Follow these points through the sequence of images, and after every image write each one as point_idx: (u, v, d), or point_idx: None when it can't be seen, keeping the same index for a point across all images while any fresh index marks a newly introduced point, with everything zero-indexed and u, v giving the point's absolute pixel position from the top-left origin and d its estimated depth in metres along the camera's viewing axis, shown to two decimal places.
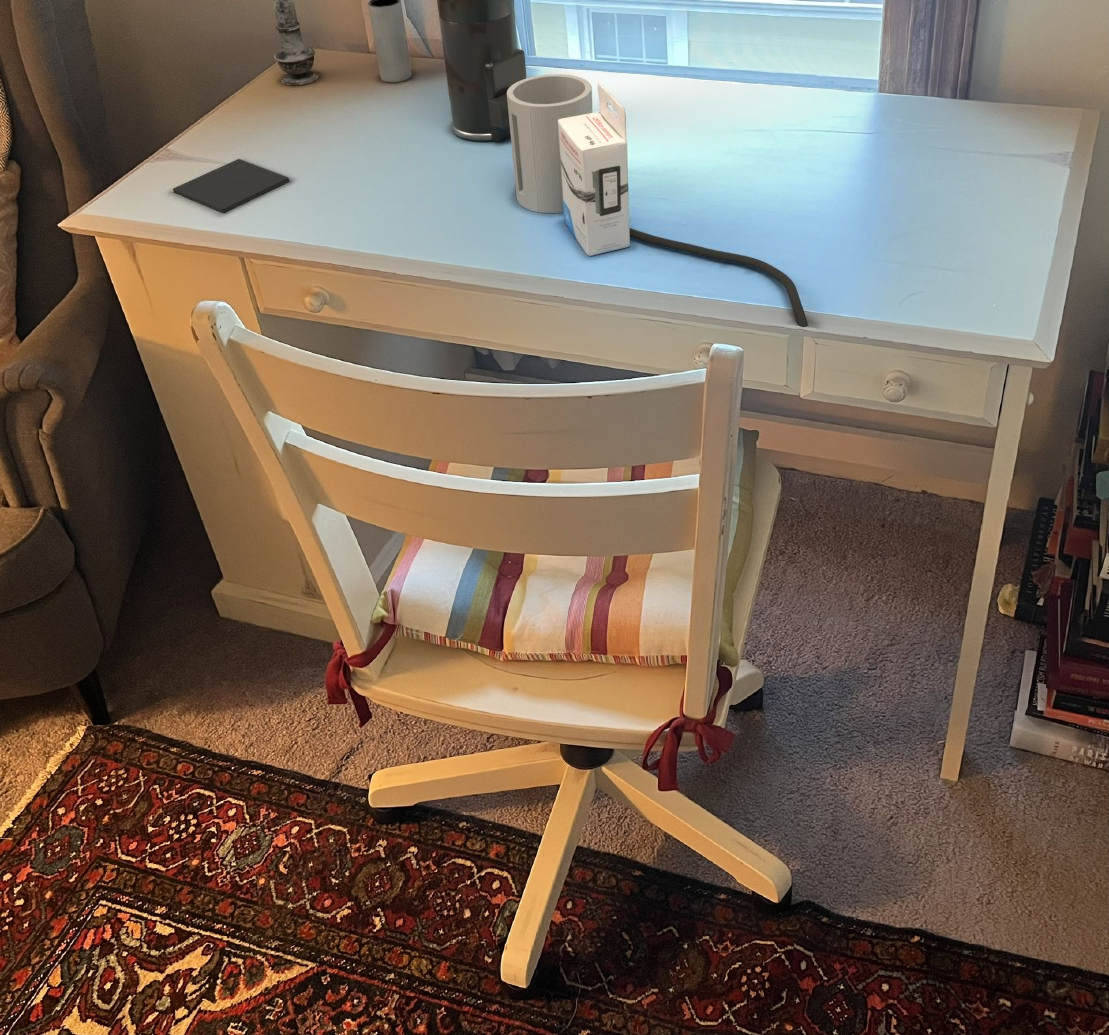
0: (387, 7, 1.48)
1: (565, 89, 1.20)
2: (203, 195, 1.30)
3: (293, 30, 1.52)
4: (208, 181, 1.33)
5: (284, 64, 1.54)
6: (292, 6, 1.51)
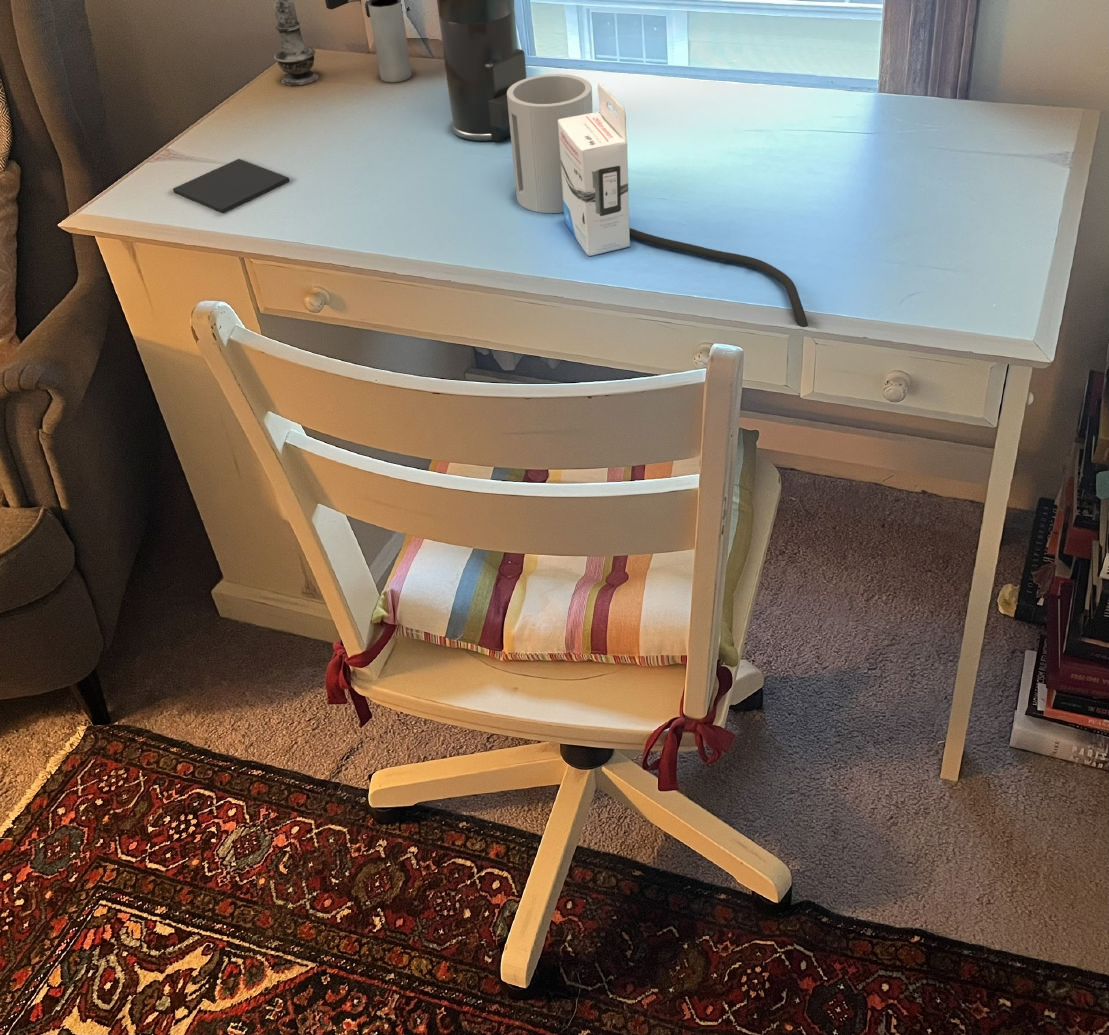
0: (387, 7, 1.48)
1: (565, 89, 1.20)
2: (203, 195, 1.30)
3: (293, 30, 1.52)
4: (208, 181, 1.33)
5: (284, 64, 1.54)
6: (292, 6, 1.51)
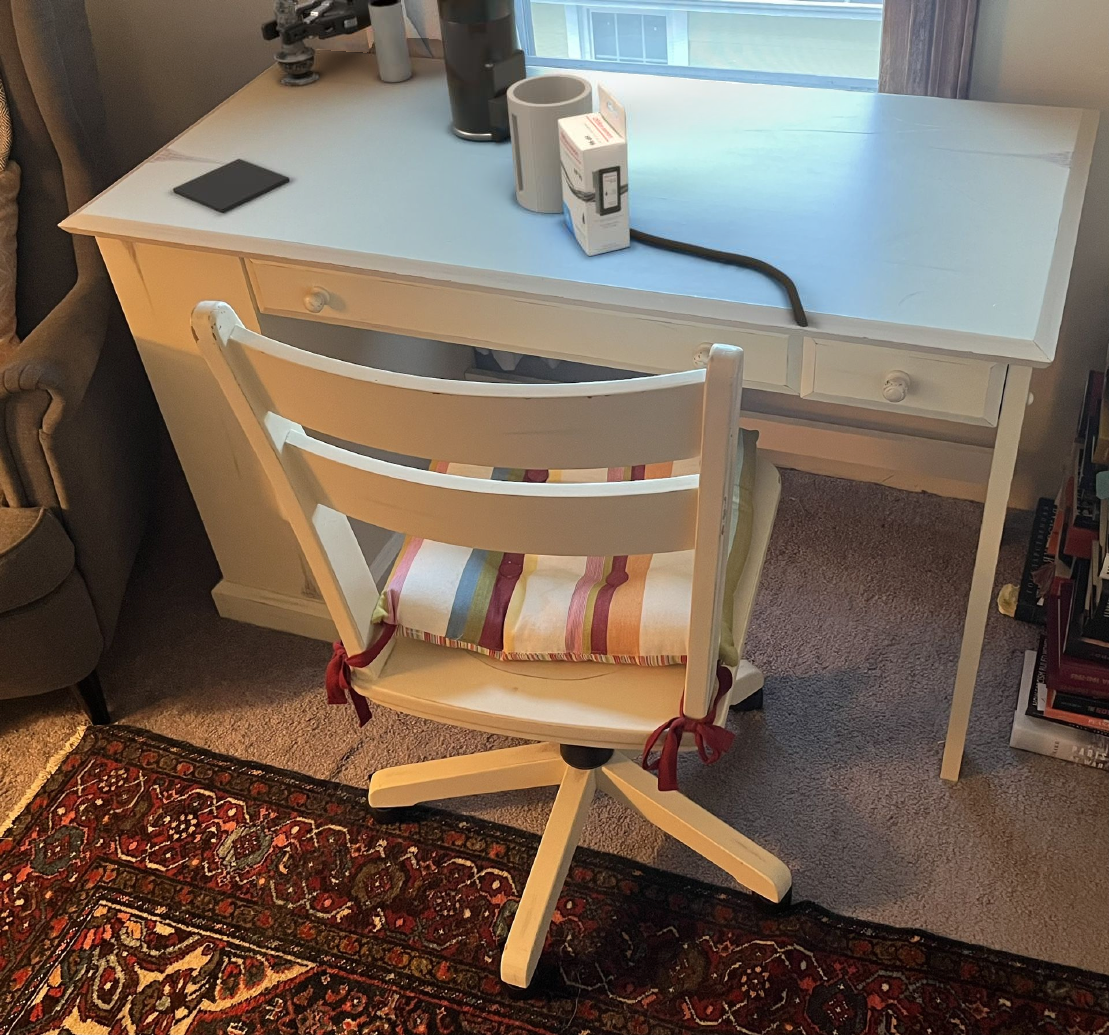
0: (387, 7, 1.48)
1: (565, 89, 1.20)
2: (203, 195, 1.30)
3: None
4: (208, 181, 1.33)
5: (285, 64, 1.54)
6: (292, 6, 1.51)
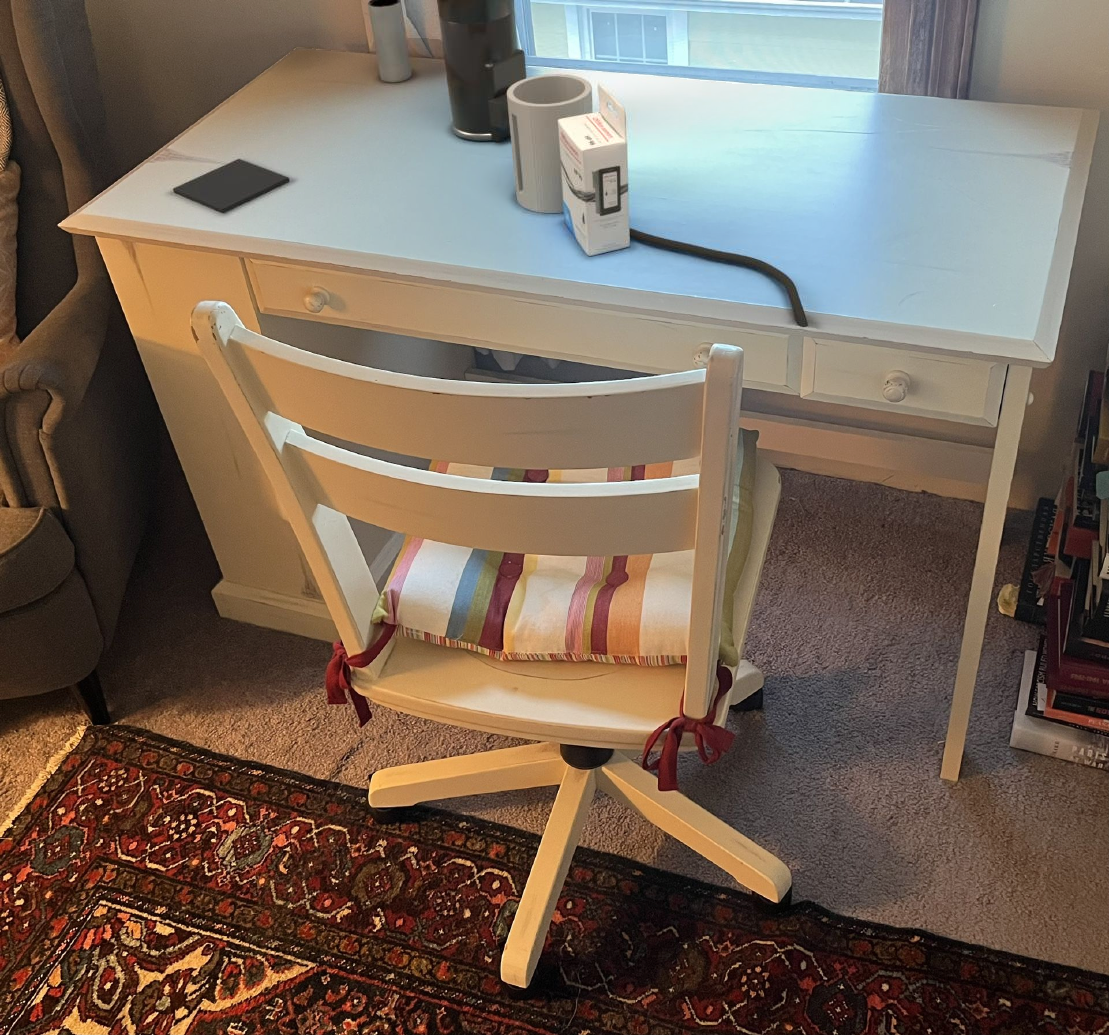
0: (387, 7, 1.48)
1: (565, 89, 1.20)
2: (203, 195, 1.30)
3: None
4: (208, 181, 1.33)
5: None
6: None
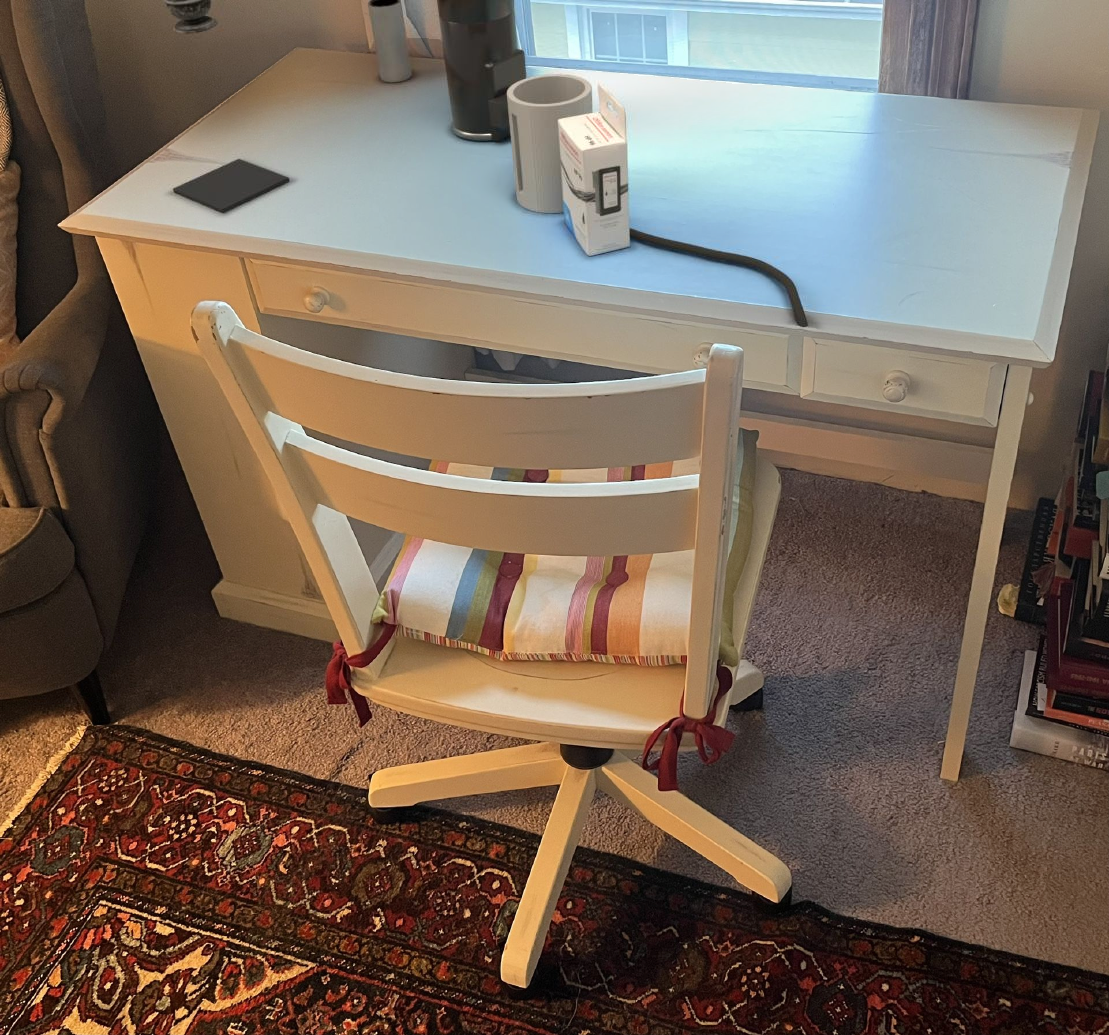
0: (387, 7, 1.48)
1: (565, 89, 1.20)
2: (203, 195, 1.30)
3: None
4: (208, 181, 1.33)
5: (187, 6, 1.29)
6: None
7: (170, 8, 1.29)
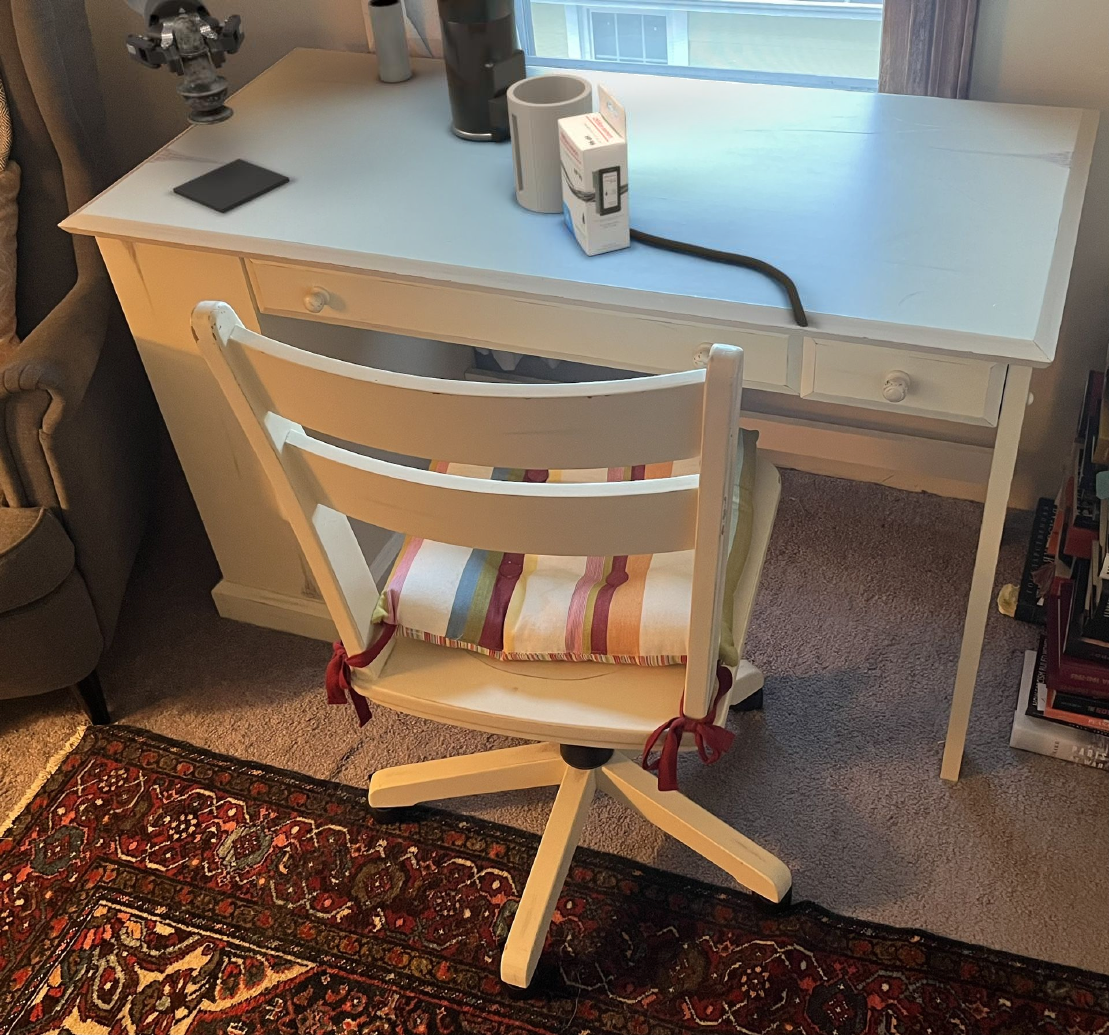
0: (387, 7, 1.48)
1: (565, 89, 1.20)
2: (203, 195, 1.30)
3: (207, 51, 1.22)
4: (208, 181, 1.33)
5: (212, 96, 1.23)
6: None
7: (191, 101, 1.23)
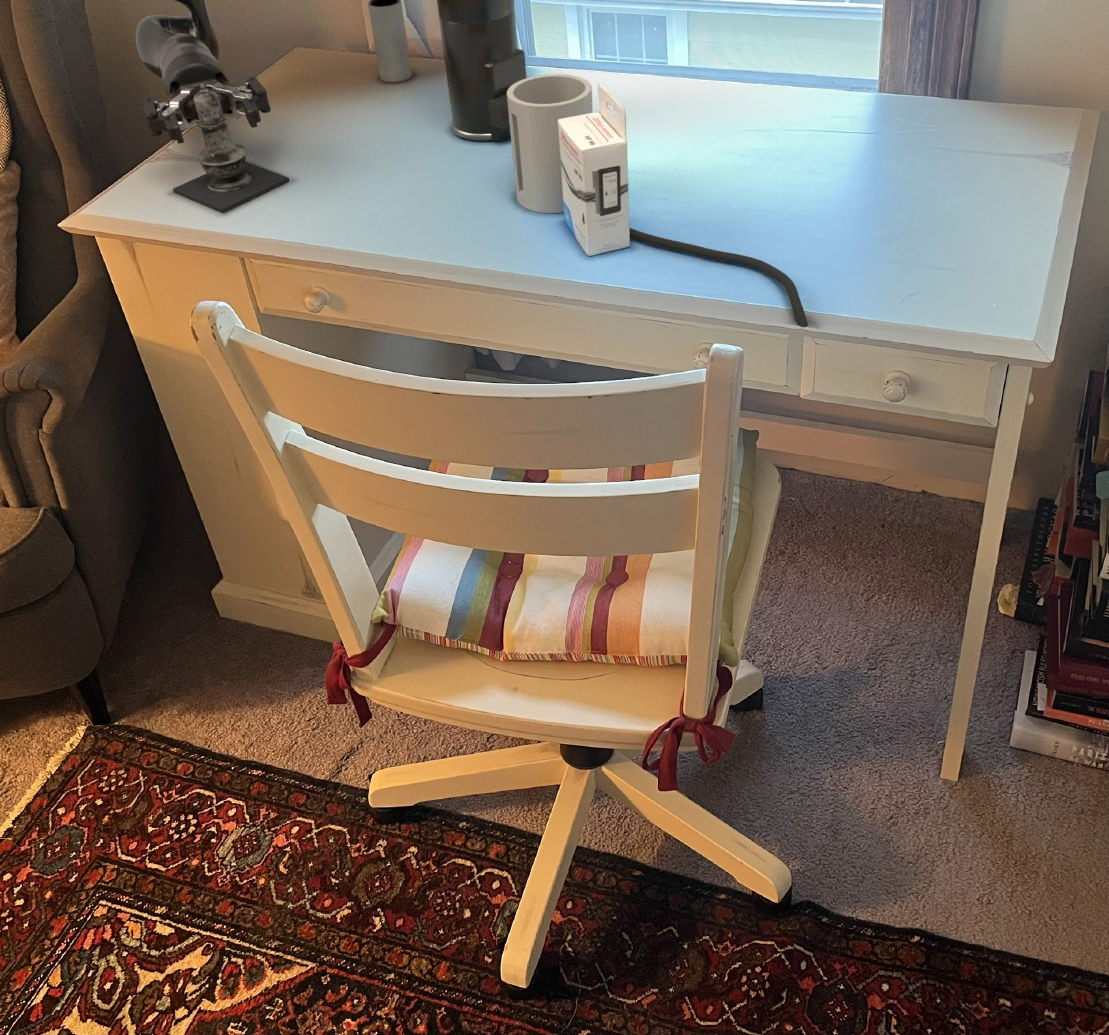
0: (387, 7, 1.48)
1: (565, 89, 1.20)
2: (203, 195, 1.30)
3: None
4: (208, 181, 1.33)
5: (231, 165, 1.28)
6: None
7: (211, 169, 1.28)
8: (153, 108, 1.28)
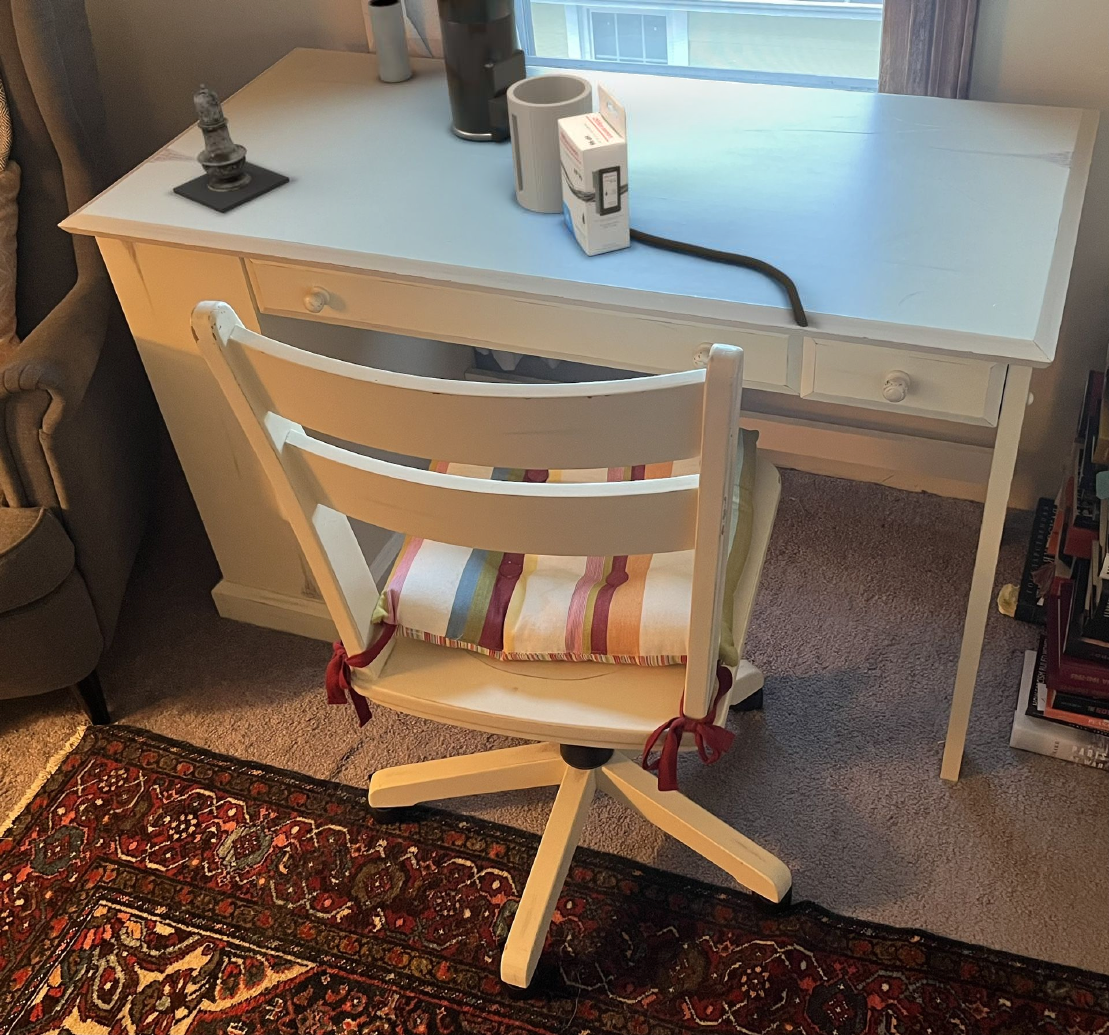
0: (387, 7, 1.48)
1: (565, 89, 1.20)
2: (203, 195, 1.30)
3: None
4: (208, 181, 1.33)
5: (231, 165, 1.28)
6: None
7: (211, 169, 1.28)
8: None
